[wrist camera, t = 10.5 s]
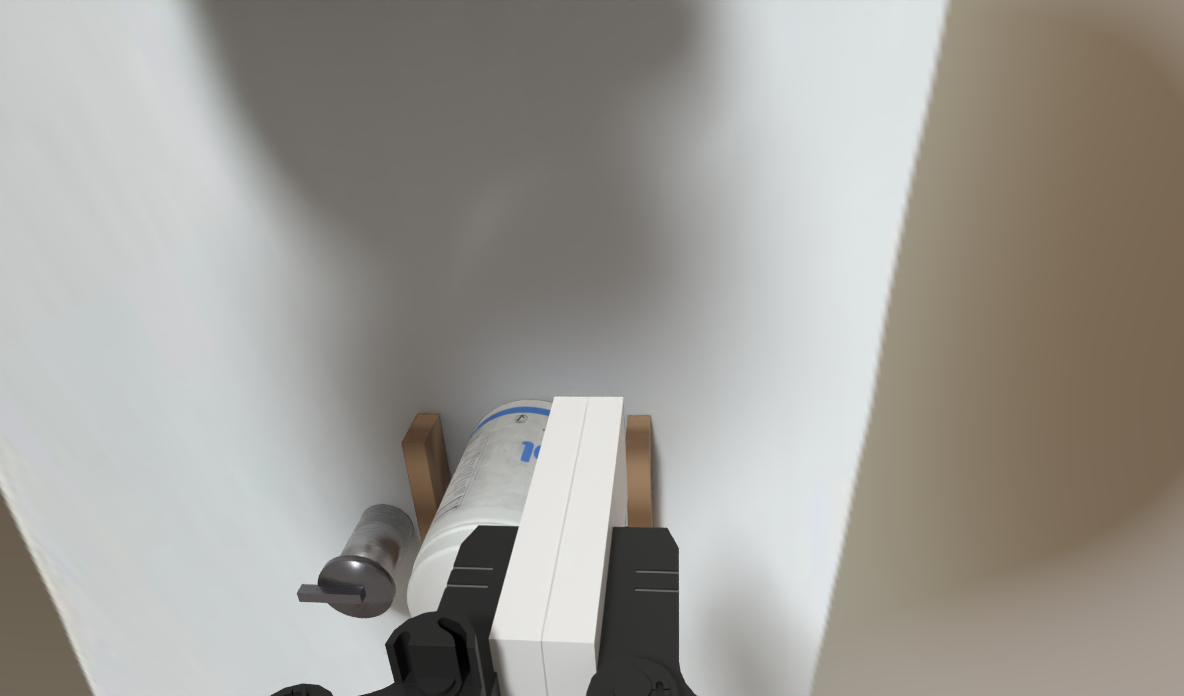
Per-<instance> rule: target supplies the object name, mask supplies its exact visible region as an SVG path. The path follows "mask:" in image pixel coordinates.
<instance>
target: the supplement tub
mask: <svg viewBox="0 0 1184 696" xmlns="http://www.w3.org/2000/svg"><path fill="white" fill-rule="evenodd" d="M552 404H553V403H551V402H547V401H541V400H519V401H513V402H510V403H506V404H504V405H501V406H499V407H497V408H495V409H494V410H492V411H491V412H489V413H488V414H487V415H486V416H485V417H484V418H482V420H481V421H480V422H479V423H478V425H477V426H476V428H475V430H474V432H473V434H472V436H471V438H470V440H469V442H468V444H467V447H466V449H465V451H464V453H463V455H462V458H461V460H460V462H459V464H458V466H457V469H456V471H455V473H454V475H453V477H452V480H451V482H450V484H449V486H448V488H447V491H446V493H445V495H444V497H443V500H442V502H441V504H440V506H439V508H438V511H437V513H436V515H435V517H434V519H433V521H432V524H431V526H430V528H429V530H428V533H427V535H426V537H425V539H424V542H423V544H422V546H421V549H420V551H419V553H418V556H417V558H416V560H415V563H414V565H413V570H412V575H411V577H410V580H409V583H408V587H407V605H408V609H409V613H410V615H411V618H413V617H415V616H418V615H420V614H422V613H425V612H433V611H437V609H438V606H439V603H440V601H441V598H442V595H443V592H444V590H445V588H446V587H447V581H448V578H449V576H450V573H451V570H453V565H454V562H455V559H456V556H457V554H458V551H459V548H460V545H461V543H462V542H463V541H464V540H465V539H466V538H467V537H468V536H469V535H470V534H471V533H472V532H473V531H474V530H475V528H476V527H477V526H478V525H493V526H519V525H520V521H521V518H522V514H523V510H524V507H525V503H526V499H527V496H528V492H529V488H530V485H531V481H532V477H533V473H534V470H535V466H536V462H537V459H538V455H539V451H540V448H541V444H542V440H543V437H544V433H545V429H546V426H547V422H548V418H549V415H550V411H551V407H552Z"/></svg>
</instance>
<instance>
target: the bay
mask: <svg viewBox="0 0 1184 696" xmlns="http://www.w3.org/2000/svg"><path fill="white" fill-rule="evenodd" d="M625 445H626V469H627V494H628V500H627V511H628V527H649V528H653V505H652V462H651V419H650V415H628V419H627V429H626V438H625ZM402 447H403V452H404V457H405V462H406V467H407V472H408V477H409V482H410V487H411V491H412V496H413V501H414V506H415V511H416V516H417V521H418V526H419V531H420V536H421V540H422V544H423V542H424V539H425V537H426V535H427V533H428V530H429V528H430V526H431V524H432V521H433V519H434V517H435V515H436V513H437V511H438V508H439V506H440V504H441V502H442V500H443V497H444V495H445V493H446V491H447V488H448V486H449V484H450V482H451V481H450V476H449V470H448V464H447V458H446V453H445V447H444V441H443V435H442V429H441V424H440V418H439V414H417V416H416V418H415V420H414V421H413V423H412V425H411V427H410V429H409V430H408V432H407V434H406V436H405V438H404V440H403V441H402Z"/></svg>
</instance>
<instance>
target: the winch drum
mask: <svg viewBox="0 0 1184 696" xmlns="http://www.w3.org/2000/svg"><path fill="white" fill-rule="evenodd" d="M412 535H413V524H412V522H411V520H410V518H409V517H408V516H407V515H406V514H405V513H404V512H403V511H401V510H400V509H398V508H396V507H393V506H390V505H375V506H372V507H370V508H368V509H367V510H366V511H365V512H364V514H363V515H362V517H361V519H360V521H359V523H358V524H357V526H356V528H355V530H354V532H353V534H352V535H351V537H350V539H349V541H348V543H347V544H346V546H345V548H344V550H343V552H342V554H341V555H340V556H339V557H336V558H333V559H332V560H330V561H329V562H328V563H327V564H326V565H325V566H324V568H323V570H322V571H321V573H320V575H319V578H318V585H308V584H302V585H301V587H300V589H299V590H298V592H297V595H298V598H299V601H300V602H320V603H328V604H329V605H330V606H331V607H333V608H334V609H336V610H337V611H339V612H341V613H343V614H346V615H348V616H352V617H357V618H372V617H376V616H379V615H381V614H383V613H384V612H386V611H387V610H388V609H389V607H390V606H391V603H392V601H393V599H394V596H395V590H396V589H395V584H394V581H393V577H394V575H395V573H396V571H397V568H398V566H399V564H400V562H401V559H402V557H403V555H404V553H405V550H406V548H407V546H408V544H409V542H410V539H411V537H412Z"/></svg>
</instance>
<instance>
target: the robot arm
mask: <svg viewBox="0 0 1184 696" xmlns="http://www.w3.org/2000/svg"><path fill="white" fill-rule="evenodd" d="M627 500H628V494H627V469H626V445H625V421H624V397H554V400H553V404H552V407H551V411H550V415H549V418H548V422H547V426H546V429H545V433H544V437H543V440H542V444H541V448H540V451H539V455H538V459H537V462H536V466H535V470H534V473H533V477H532V481H531V485H530V488H529V492H528V496H527V499H526V503H525V507H524V510H523V514H522V518H521V521H520V525H519V526H493V525H478V526H477V527H476V528H475V530H474V531H473V532H472V533H471V534H470V535H469V536H468V537H467V538H466V539H465V540H464V541H463V542H462V543H461V545H460V548H459V551H458V554H457V556H456V559H455V562H454V565H453V570H451V573H450V576H449V578H448V581H447V587H446V588H445V590H444V592H443V595H442V598H441V601H440V603H439V606H438V609H437V611H433V612H425V613H422V614H420V615H418V616H415V617H413V618H410V619H408V620H407V621H405V622H404V623H403V624H402V625H400V626H399V627H398V628H397V629H395V630H394V631H393V633H392V634H391V636H390V637H389V639H388V640H387V642H386V643H385V646H386V650H387V654H388V658H389V662H390V666H391V670H392V674H393V678H394V682H395V683H393V684H391V685H389V686H388V687H386V688H384V689H381V690H378V691H375V692H372V693H368V694H364V695H360V696H697V695H695V694H694V693H693V692H692V690H691V689H690V688H689V687H688V685H687V684H686V683H685V681H684V678H683V676H682V674H681V672H680V665H679V548H678V546H677V544H676V542H675V541H674V539H673V537H672V535H671V534H670V532H669V530H668V528H649V527H625V522H626V511H627ZM271 696H333V695H332V693H331V692H330V691H328V690H327V689H325V688H323V687H321V686H320V685H313V684H299V685H295V686H290V687H286V688H284V689H282V690H280V691H278V692H276V693H274V694H272V695H271Z"/></svg>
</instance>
